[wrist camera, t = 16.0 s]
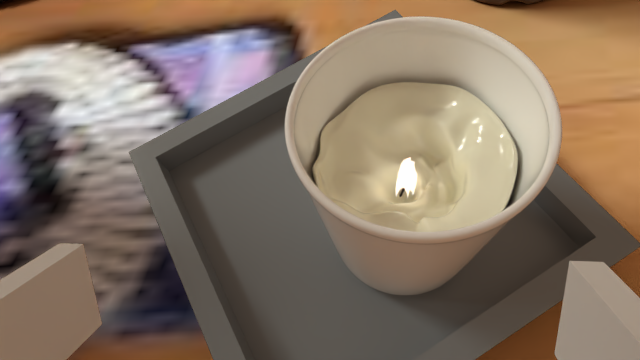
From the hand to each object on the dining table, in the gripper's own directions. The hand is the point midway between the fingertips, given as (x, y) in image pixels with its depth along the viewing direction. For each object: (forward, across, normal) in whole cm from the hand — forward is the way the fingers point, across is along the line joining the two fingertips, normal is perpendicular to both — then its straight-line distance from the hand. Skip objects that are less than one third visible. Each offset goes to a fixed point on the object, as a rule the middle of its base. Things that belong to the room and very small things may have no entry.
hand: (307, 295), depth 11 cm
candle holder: (+14, +3, -5) cm, 15 cm away
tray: (+16, 0, -4) cm, 17 cm away
